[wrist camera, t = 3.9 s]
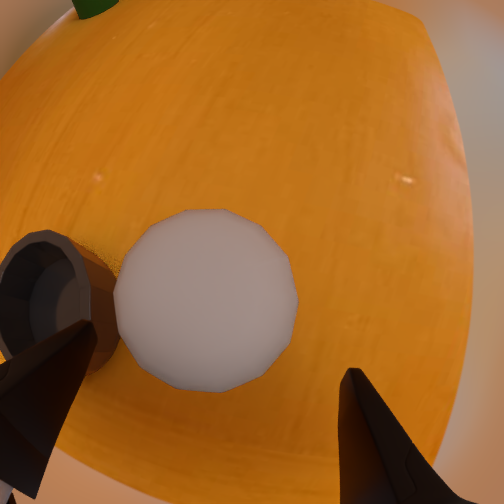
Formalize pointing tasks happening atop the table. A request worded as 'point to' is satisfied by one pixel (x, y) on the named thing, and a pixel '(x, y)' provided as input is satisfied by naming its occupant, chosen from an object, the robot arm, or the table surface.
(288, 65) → the table surface
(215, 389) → the salt shaker
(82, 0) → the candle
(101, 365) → the holder
